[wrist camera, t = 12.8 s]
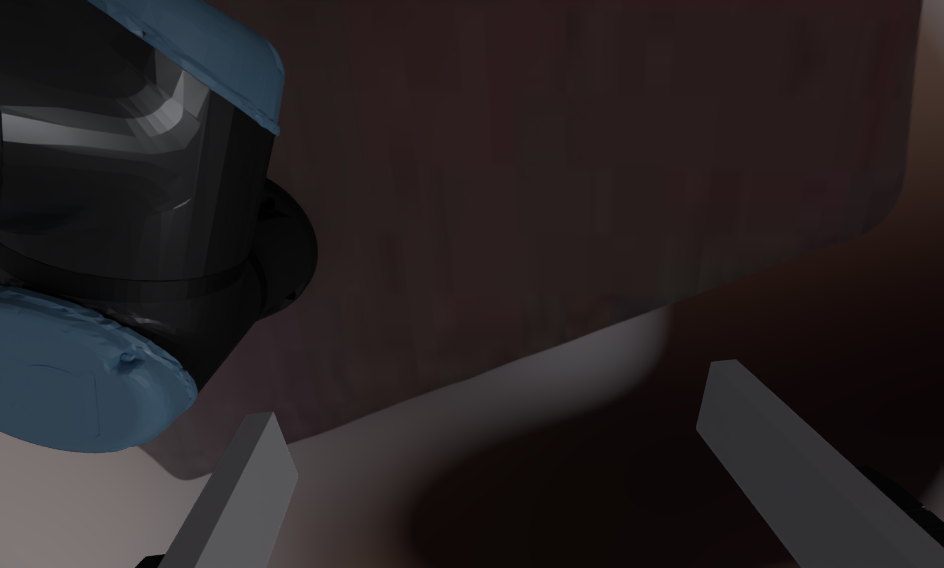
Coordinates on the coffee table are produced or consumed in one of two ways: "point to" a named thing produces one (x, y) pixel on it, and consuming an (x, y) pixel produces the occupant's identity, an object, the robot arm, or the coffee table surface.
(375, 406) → the coffee table surface
